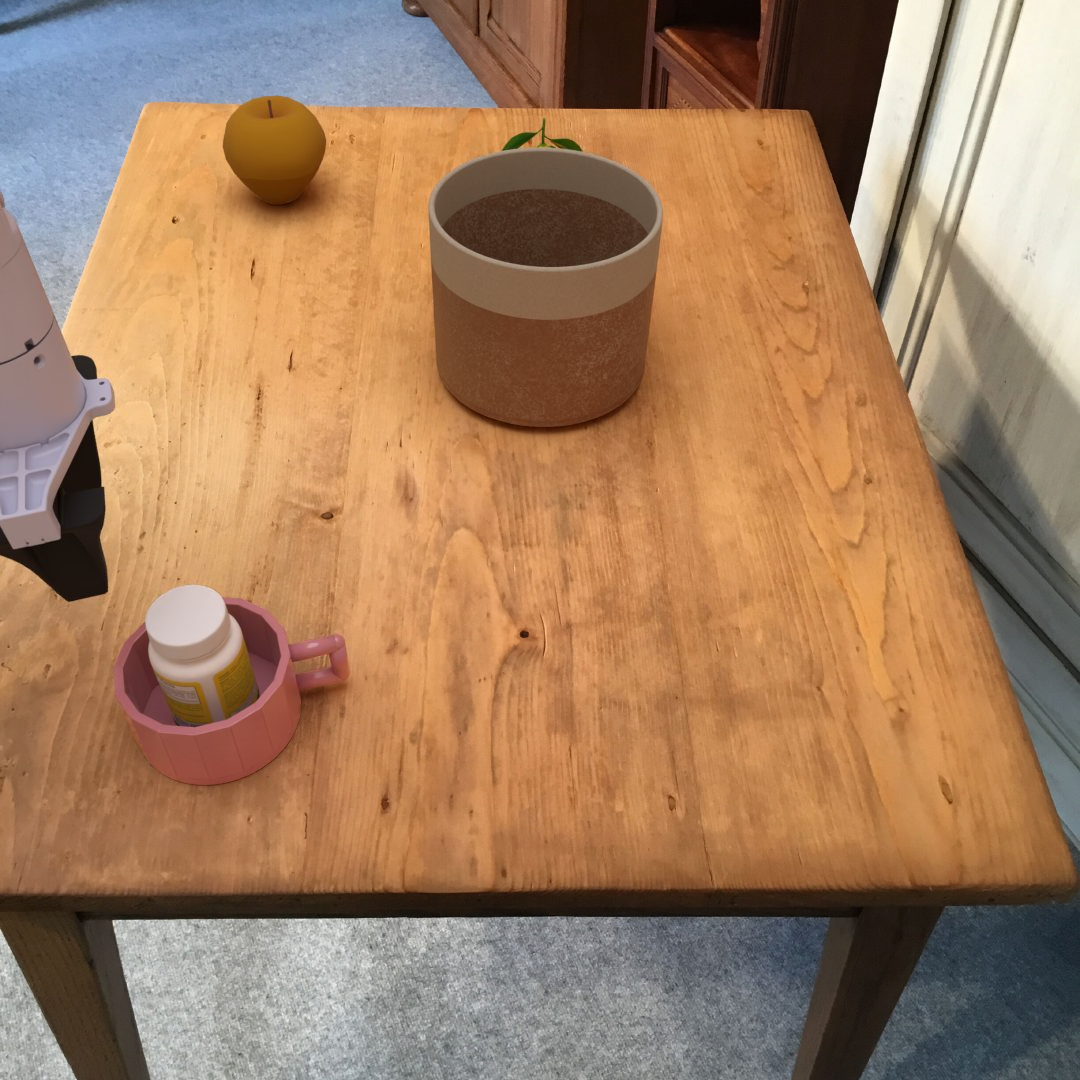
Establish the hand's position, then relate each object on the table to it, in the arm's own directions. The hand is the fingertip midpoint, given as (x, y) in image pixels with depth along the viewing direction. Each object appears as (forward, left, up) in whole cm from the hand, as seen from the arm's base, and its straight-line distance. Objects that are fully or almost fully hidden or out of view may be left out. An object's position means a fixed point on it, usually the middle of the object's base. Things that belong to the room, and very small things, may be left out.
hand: (84, 538), depth 57 cm
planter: (+32, +19, -10) cm, 38 cm away
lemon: (+38, +38, -10) cm, 54 cm away
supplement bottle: (+5, -6, -9) cm, 12 cm away
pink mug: (+6, -6, -9) cm, 13 cm away
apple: (+17, +49, -10) cm, 52 cm away
